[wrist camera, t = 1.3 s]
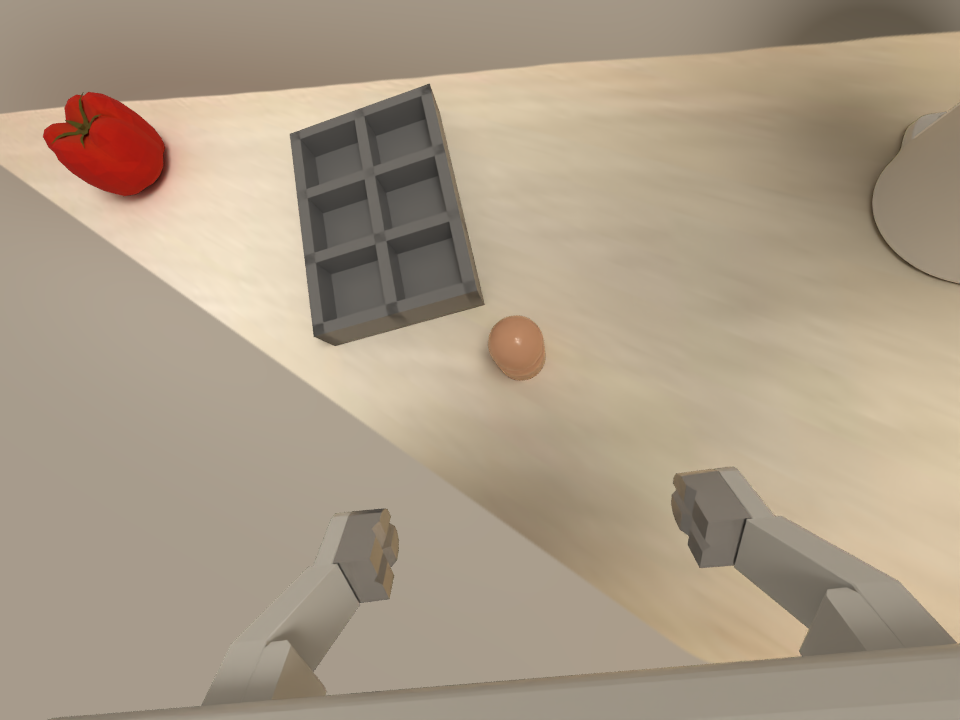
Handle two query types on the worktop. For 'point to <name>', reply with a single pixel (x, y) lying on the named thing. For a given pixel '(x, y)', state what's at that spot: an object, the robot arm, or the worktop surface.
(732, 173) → the worktop surface
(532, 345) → the terracotta egg
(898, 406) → the worktop surface
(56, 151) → the tomato
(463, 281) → the egg carton
